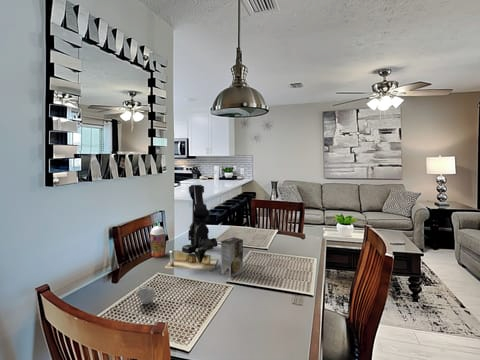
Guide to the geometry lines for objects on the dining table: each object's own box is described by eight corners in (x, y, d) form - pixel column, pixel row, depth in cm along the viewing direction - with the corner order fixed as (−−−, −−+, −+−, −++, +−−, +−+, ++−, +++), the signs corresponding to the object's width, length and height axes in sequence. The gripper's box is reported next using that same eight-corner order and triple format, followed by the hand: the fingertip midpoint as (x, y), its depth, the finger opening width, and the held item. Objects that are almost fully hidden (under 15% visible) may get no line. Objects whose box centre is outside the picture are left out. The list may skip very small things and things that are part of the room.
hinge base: (175, 258, 156) (175, 249, 155) (198, 259, 154) (198, 250, 154) (171, 261, 150) (171, 252, 150) (195, 263, 149) (195, 253, 149)
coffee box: (233, 268, 143) (233, 236, 142) (243, 272, 139) (243, 239, 138) (220, 274, 136) (220, 240, 135) (230, 278, 132) (231, 243, 131)
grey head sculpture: (133, 303, 108) (132, 285, 107) (150, 297, 113) (150, 280, 112) (140, 309, 103) (140, 291, 103) (158, 303, 108) (158, 285, 108)
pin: (170, 264, 146) (170, 250, 146) (175, 264, 146) (175, 250, 146) (168, 266, 144) (168, 251, 143) (173, 266, 143) (173, 251, 143)
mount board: (174, 258, 158) (174, 256, 158) (218, 260, 156) (218, 258, 156) (164, 268, 142) (164, 267, 142) (211, 271, 140) (211, 270, 140)
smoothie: (149, 259, 155) (149, 223, 154) (150, 254, 163) (149, 219, 162) (165, 258, 157) (165, 222, 156) (165, 253, 165) (165, 219, 164)
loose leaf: (197, 261, 151) (197, 252, 151) (210, 263, 148) (210, 255, 147) (196, 261, 150) (196, 253, 150) (208, 264, 146) (209, 255, 146)
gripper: (195, 238, 132) (195, 272, 133) (225, 231, 146) (224, 262, 147) (181, 234, 140) (181, 265, 141) (210, 228, 154) (210, 256, 155)
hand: (200, 262), depth 146 cm, fingers closed
